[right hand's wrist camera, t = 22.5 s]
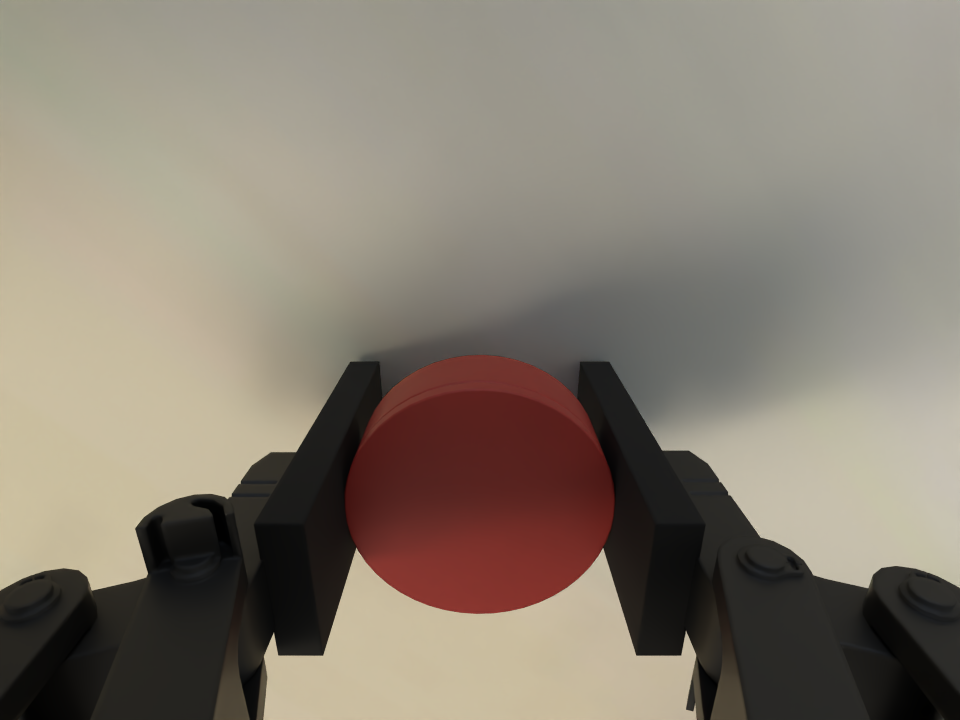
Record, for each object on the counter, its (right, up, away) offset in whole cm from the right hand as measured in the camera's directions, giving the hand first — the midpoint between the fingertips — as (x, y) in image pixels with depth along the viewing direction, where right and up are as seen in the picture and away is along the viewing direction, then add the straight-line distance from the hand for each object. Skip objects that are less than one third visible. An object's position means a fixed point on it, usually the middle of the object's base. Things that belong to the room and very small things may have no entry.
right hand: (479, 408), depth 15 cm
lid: (0, -2, -4) cm, 4 cm away
